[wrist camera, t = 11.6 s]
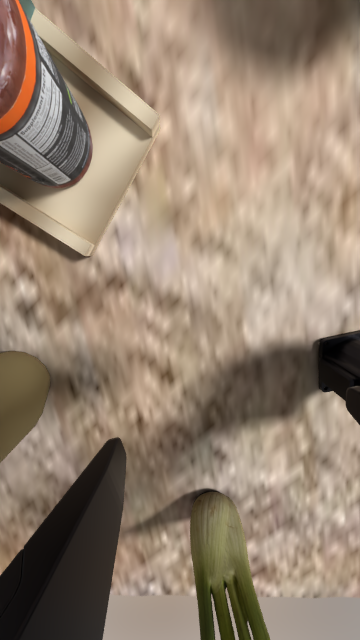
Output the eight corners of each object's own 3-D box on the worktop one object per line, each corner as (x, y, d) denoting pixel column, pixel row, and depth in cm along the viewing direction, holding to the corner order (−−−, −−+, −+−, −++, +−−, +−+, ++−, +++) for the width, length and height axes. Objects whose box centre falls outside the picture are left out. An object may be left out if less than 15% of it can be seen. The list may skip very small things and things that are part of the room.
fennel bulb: (185, 508, 28) (198, 679, 17) (194, 481, 27) (216, 648, 15) (225, 512, 29) (264, 678, 18) (236, 486, 28) (286, 648, 16)
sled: (160, 130, 16) (156, 42, 9) (92, 256, 18) (51, 255, 12) (15, 8, 13) (-125, -224, 7) (-43, 171, 16) (-188, 110, 9)
